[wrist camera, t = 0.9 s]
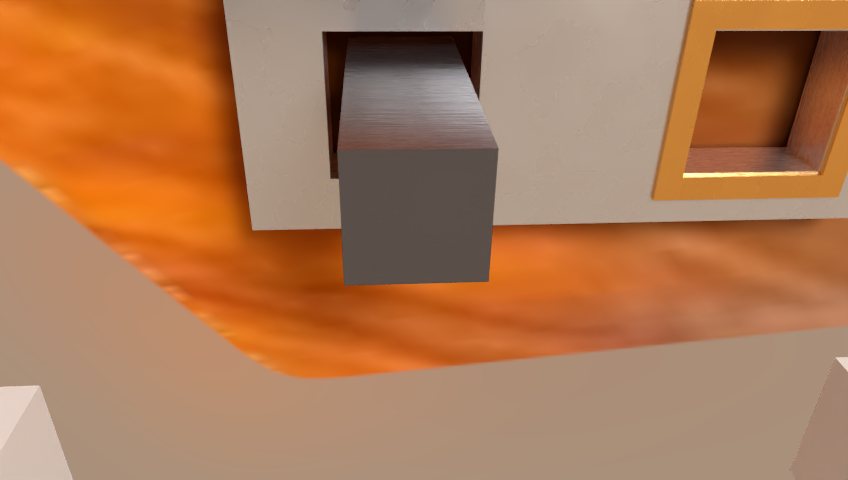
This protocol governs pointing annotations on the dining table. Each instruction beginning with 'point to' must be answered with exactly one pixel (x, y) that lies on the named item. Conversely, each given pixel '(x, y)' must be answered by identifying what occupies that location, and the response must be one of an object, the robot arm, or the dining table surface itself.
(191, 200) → the dining table surface
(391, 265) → the steel peg
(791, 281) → the dining table surface
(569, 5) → the grey peg hole board
